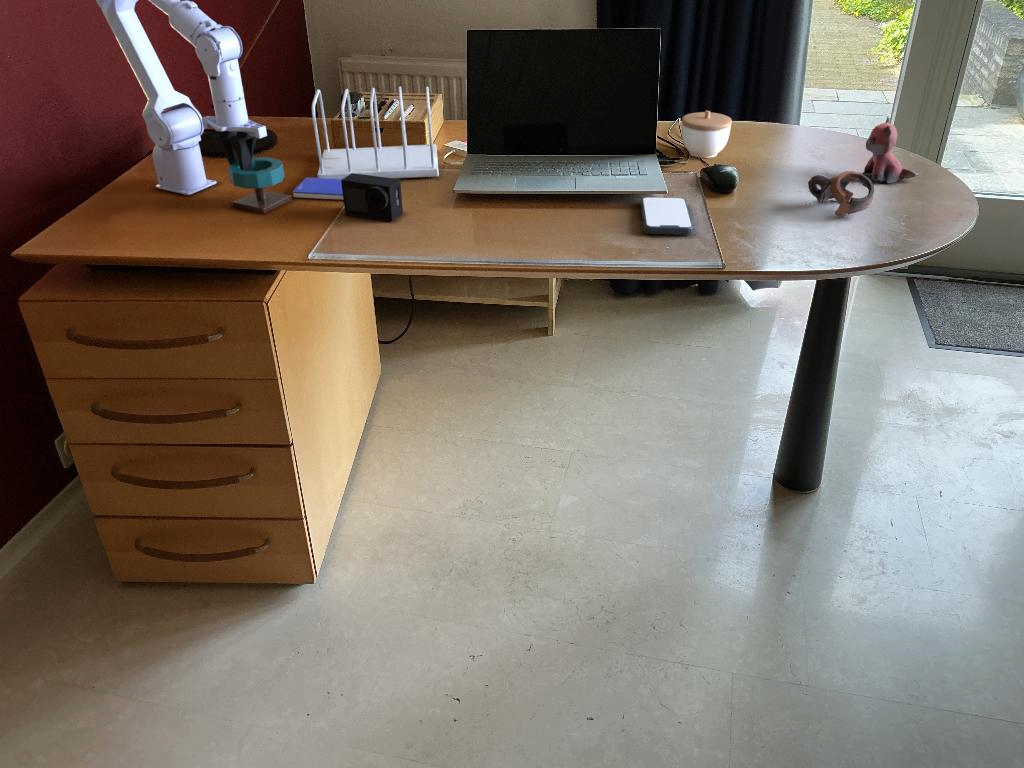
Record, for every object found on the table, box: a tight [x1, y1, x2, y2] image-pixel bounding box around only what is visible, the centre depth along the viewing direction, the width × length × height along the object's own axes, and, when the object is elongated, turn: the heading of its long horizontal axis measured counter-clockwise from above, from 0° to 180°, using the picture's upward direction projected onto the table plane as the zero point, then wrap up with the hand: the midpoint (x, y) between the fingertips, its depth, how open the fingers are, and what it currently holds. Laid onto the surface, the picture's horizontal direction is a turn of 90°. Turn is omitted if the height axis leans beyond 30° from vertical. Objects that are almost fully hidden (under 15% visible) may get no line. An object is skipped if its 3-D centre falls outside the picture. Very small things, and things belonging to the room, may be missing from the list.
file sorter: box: [311, 86, 440, 179], centre depth 182 cm, size 25×17×16 cm
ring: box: [228, 156, 285, 190], centre depth 166 cm, size 10×10×3 cm
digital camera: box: [341, 173, 404, 222], centre depth 161 cm, size 10×5×7 cm, turn 68°
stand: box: [232, 187, 292, 215], centre depth 167 cm, size 8×8×6 cm
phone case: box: [640, 196, 694, 236], centre depth 160 cm, size 9×2×16 cm
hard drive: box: [292, 177, 344, 201], centre depth 173 cm, size 2×8×12 cm
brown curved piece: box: [807, 170, 875, 219], centre depth 162 cm, size 12×10×8 cm
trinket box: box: [681, 110, 733, 159], centre depth 190 cm, size 11×11×9 cm
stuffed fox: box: [862, 116, 920, 184], centre depth 174 cm, size 8×11×12 cm
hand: (241, 169), depth 167 cm, fingers closed on ring, 2 cm apart
